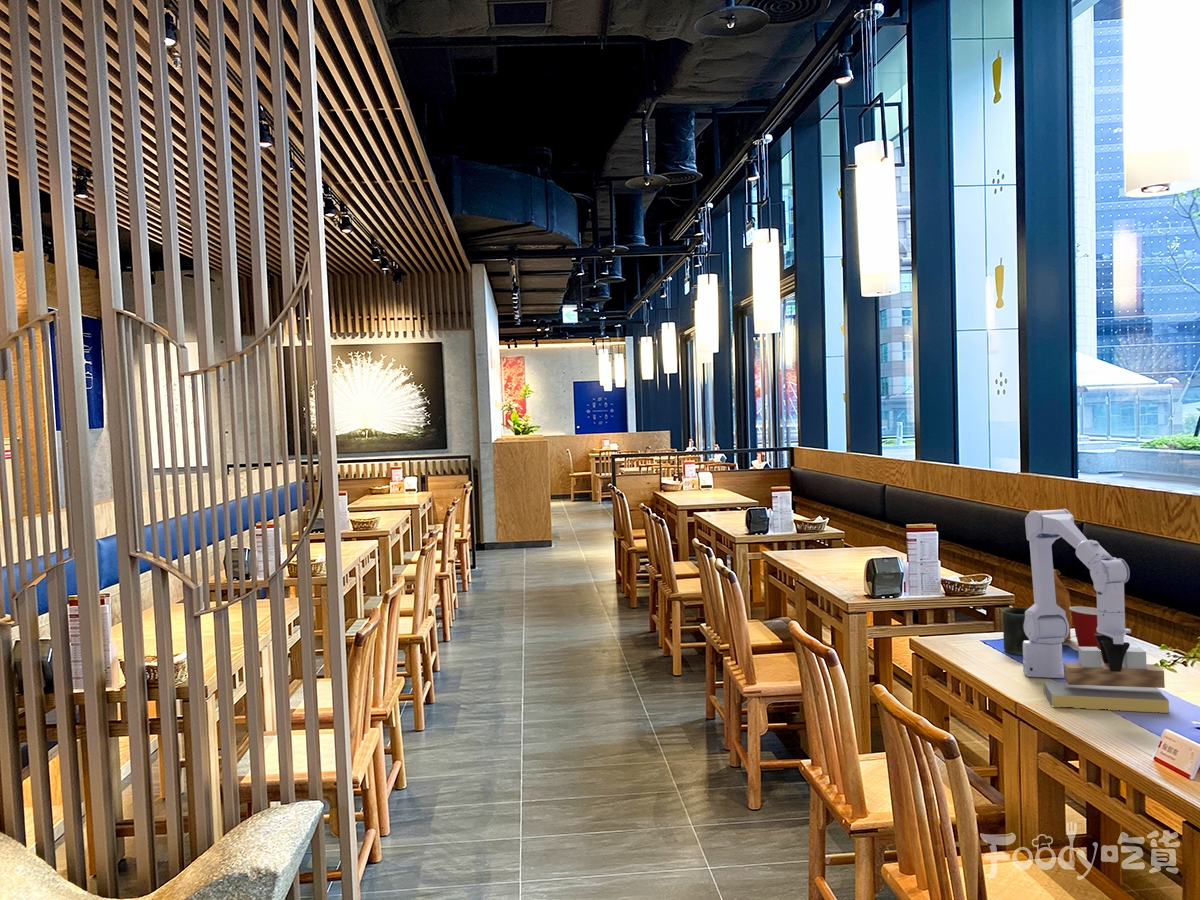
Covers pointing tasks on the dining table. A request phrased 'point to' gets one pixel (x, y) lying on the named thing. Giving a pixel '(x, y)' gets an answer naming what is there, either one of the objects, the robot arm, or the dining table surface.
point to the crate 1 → (1089, 657)
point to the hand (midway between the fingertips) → (1112, 667)
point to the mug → (1014, 629)
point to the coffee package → (1062, 599)
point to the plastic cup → (1085, 625)
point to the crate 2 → (1135, 659)
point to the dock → (1106, 697)
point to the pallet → (1113, 676)
